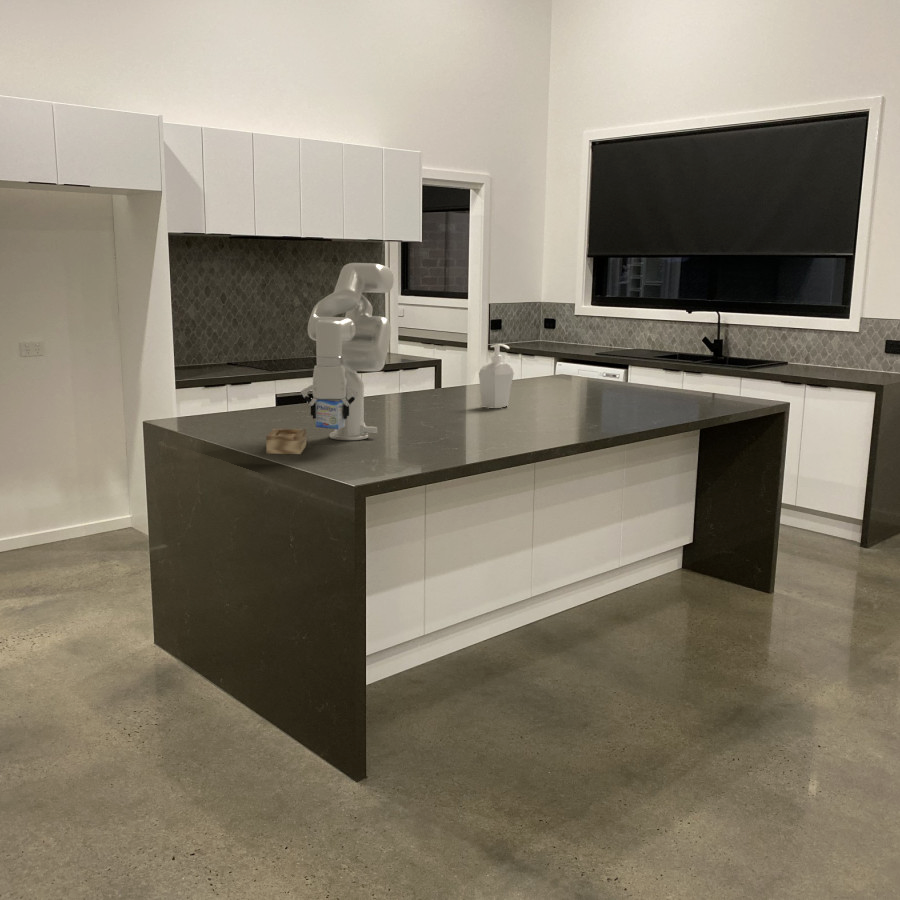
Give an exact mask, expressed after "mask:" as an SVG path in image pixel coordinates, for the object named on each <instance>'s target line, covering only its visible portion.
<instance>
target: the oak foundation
mask: <svg viewBox="0 0 900 900" xmlns="http://www.w3.org/2000/svg"><path fill="white" fill-rule="evenodd" d="M265 440H266V445H265V446H266V454H271V455H272V454H275V455H276V454H277V455H279V454H280V455H302V452H304V450H305V448H306V447H307V428H305V429H304V428H300V429H299V428H273V429H272V430H271V431H270V432H269V433H267V435H266V438H265Z"/></svg>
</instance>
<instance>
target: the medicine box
mask: <svg viewBox="0 0 900 900" xmlns="http://www.w3.org/2000/svg"><path fill="white" fill-rule="evenodd" d="M315 405H316V418H315V427H316V428H319V429H320V428H321V429H329V430H330V429H332V430H335V429H340V428H343V427H344V426H345V419H344V405H345V404H344V403H343V401H342V400H321V399H317V401H316V402H315Z"/></svg>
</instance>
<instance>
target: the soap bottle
mask: <svg viewBox="0 0 900 900" xmlns="http://www.w3.org/2000/svg"><path fill="white" fill-rule="evenodd" d="M500 347H503V348H505V349H506V350H510V348H511V347H510V346H508V345H507V344H504V343H503V344H502V343H498V344H497V343H496V344H492V345H490V348H494V354H492V355H491V362H486V363H485V364H484V365H482V366H481V368H480V370H479V372H478V379H479V388H480V397H481V407H482V406H486V407H493V408H497V407H502V406H508V407H509V402H510V395H511V391H512V390H511V389H512V386H513V385H512V384H513V379H514V370H513V368H512V367H511V365H509V364H508V363H505V362H504V363H503V361H502V360H503V357H502V356H503V355H500Z"/></svg>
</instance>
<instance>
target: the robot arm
mask: <svg viewBox="0 0 900 900" xmlns="http://www.w3.org/2000/svg"><path fill="white" fill-rule="evenodd" d="M394 279H395V278H394V273H393V271H392V270H391V268H390V267H388V266H386V265H383V264H379V263H376V262H375V263H373V262H372V263H371V262H368V263H367V262H351V263H347V264H345V265H343V267H342V268H341V270H340V273H339V276H338V279H337V282H336V284H335V288H334V290H333V292H332V293H330V294H329V295H327V296H325V297H324V298H322V299H320V301H318V302H317V303H316V304H315V305H314V307H313V309H312V311H311V313H310V316H309V320H308V323H307V334H308V336H309V338H310V339H311V340H313V341H315V342H316V343H315V344H316V345H315V346H316V348H315V350H316V365H314V367H313V374H312V375H313V376H312V384H311V385H309V386H307V387H305V388H303V389H302V390H301V391H300V394H301V395H302V397H303V398H304V400H305V402H307V403H308V404H309V406H310V416H311V417H312V419H313V420H314V419H315V420H316V405H315V402H316V401H317V399H321V400H342V401H343V403H344V404H345V405H344V419H345V426H344V427H343V428H340V429H334V431H332V432H330V433H329V438H330V439H333V440H338V441H359V440H361V441H362V440H366V439H367V438H369V433H371V434H373V433H374V434H378V427H377V426H372V425H371V426H368V425H366V422H365V420H364V417H365V414H364V413H365V412H364V410H365V409H364V407H365V405H364V404H365V403H364V401H365V400H364V398H365V397H364V395H365V393H364V391H365V387H364V386H365V385H364V381H363V379H362V378H361V376H360V375H359V374H358V372H379V371H380V372H381V370H383V369H384V367H385V364H386V361H387V355H388V350H389V347H390V346H389V345H390V340H391V333H392V332H391V329H392V327H391V323H390V321H389V319H388V318H387V317H384V316H379V315H373V306H372V304H371V302H370V301H369V299H368V298H367V297H365V295H364V294H363V293H373V294H375V293H378V294H379V293H380V294H385V293H386V294H387V293H389V292H391V290H392V289H393V287H394V282H395V281H394ZM344 313H345V315H344V316H343V317H342V316H341V317H339V315H340V314H344ZM337 315H338V317H337ZM311 391H312V397H313V398H311V397H310V396H309V394H308V393H309V392H311Z"/></svg>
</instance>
